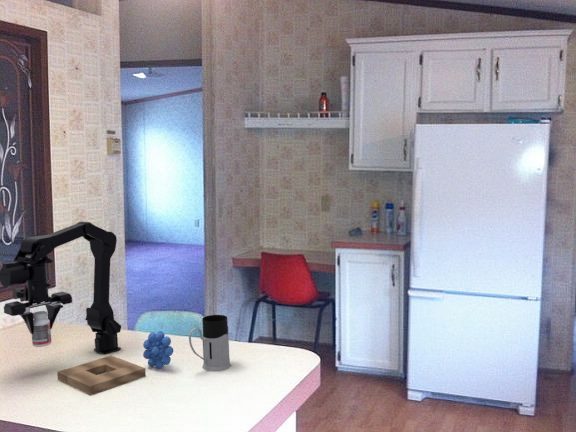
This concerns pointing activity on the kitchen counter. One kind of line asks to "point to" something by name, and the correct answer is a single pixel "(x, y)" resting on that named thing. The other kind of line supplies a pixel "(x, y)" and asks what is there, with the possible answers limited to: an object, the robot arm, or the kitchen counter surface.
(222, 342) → the glass holder
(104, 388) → the hole plate
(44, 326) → the pill bottle
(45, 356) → the kitchen counter surface
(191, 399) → the kitchen counter surface
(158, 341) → the grapes
